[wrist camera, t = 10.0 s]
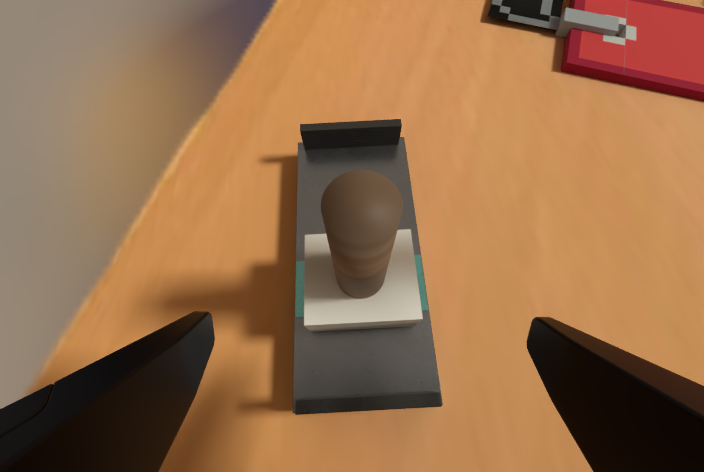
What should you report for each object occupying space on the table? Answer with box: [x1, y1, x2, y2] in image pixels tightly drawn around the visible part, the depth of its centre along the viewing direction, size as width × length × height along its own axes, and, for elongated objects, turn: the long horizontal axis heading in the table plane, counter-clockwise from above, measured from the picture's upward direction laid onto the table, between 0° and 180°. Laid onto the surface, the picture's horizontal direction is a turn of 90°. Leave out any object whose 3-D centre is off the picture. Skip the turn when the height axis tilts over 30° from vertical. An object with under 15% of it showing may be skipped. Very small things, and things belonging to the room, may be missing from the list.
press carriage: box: [304, 170, 423, 332], centre depth 15 cm, size 5×6×10 cm
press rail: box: [293, 119, 443, 415], centre depth 21 cm, size 18×8×4 cm, turn 3°
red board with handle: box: [488, 0, 704, 101], centre depth 30 cm, size 30×3×15 cm
